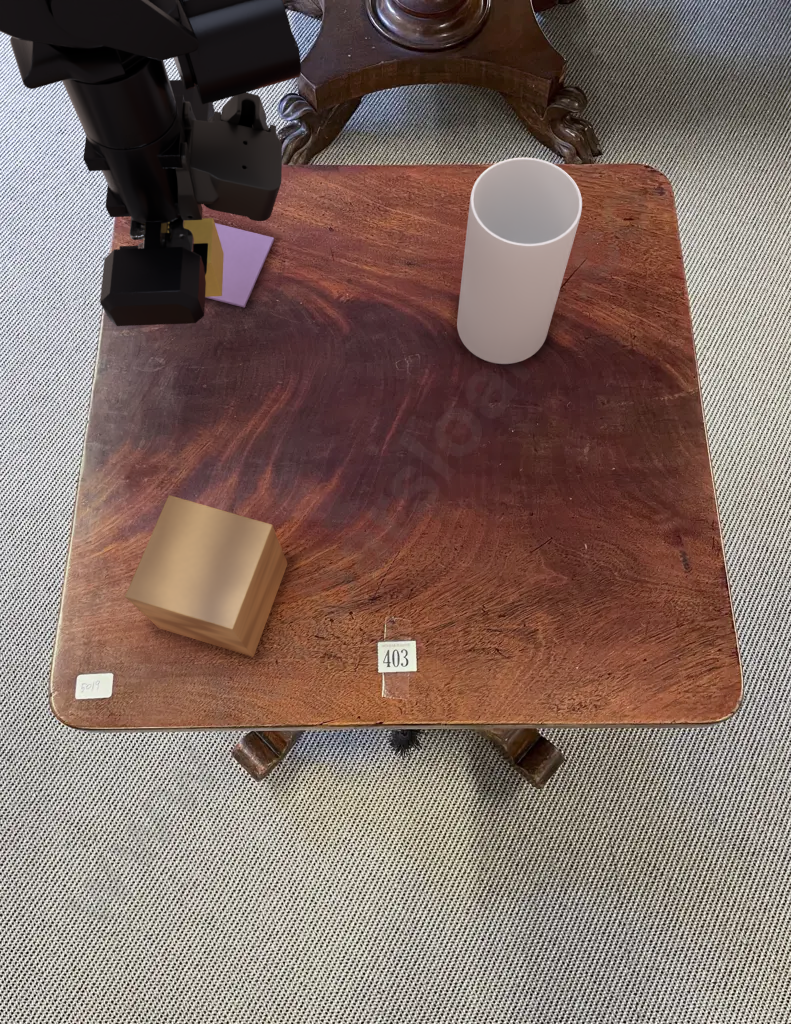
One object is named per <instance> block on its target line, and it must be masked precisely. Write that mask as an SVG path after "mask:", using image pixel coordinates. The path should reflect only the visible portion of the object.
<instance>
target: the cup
mask: <svg viewBox="0 0 791 1024" xmlns="http://www.w3.org/2000/svg"><path fill="white" fill-rule="evenodd" d="M469 197H470V198H469V205H468V213H467V214H468V215H467V216H468V217H467V224H466V234H465V243H464V245H465V246H464V251H463V252H464V253H463V261H462V269H461V270H462V273H461V281H460V290H459V298H458V310H457V319H456V328H457V334H458V336H459V339H460V340H461V342H462V344H463V345H464V347H465V348H466V349H467V350H468V352H470V353H471V354H473V355H474V356H475V357H477V358H479V359H481V360H484V361H486V362H488V363H492V364H499V365H509V364H516V363H520V362H523V361H526V360H527V359H529V358H531V357H532V356H533V355H535V354H536V353H537V352H539V350H540V349H541V348H542V346H543V345H544V343H545V342H546V339H547V337H548V333H549V329H550V325H551V322H552V319H553V315H554V312H555V309H556V304H557V301H558V297H559V294H560V290H561V287H562V284H563V280H564V277H565V274H566V268H567V266H568V263H569V259H570V255H571V252H572V249H573V245H574V241H575V238H576V234H577V230H578V227H579V223H580V221H581V216H582V210H583V198H582V194H581V190H580V188H579V186H578V185H577V183H576V181H575V180H574V179H573V178H572V176H570V175H569V173H567V172H566V170H564V169H563V168H561V167H559V166H558V165H557V164H554V163H552V162H550V161H547V160H545V159H540V158H535V157H513V158H508V159H504V160H501V161H498V162H496V163H494V164H492V165H490V166H489V167H488V168H486V169H485V170H484V171H483V172H482V173H481V174H480V175H479V176H478V177H477V179H476V180H475V182H474V184H473V187H472V190H471V192H470V196H469Z"/></svg>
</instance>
